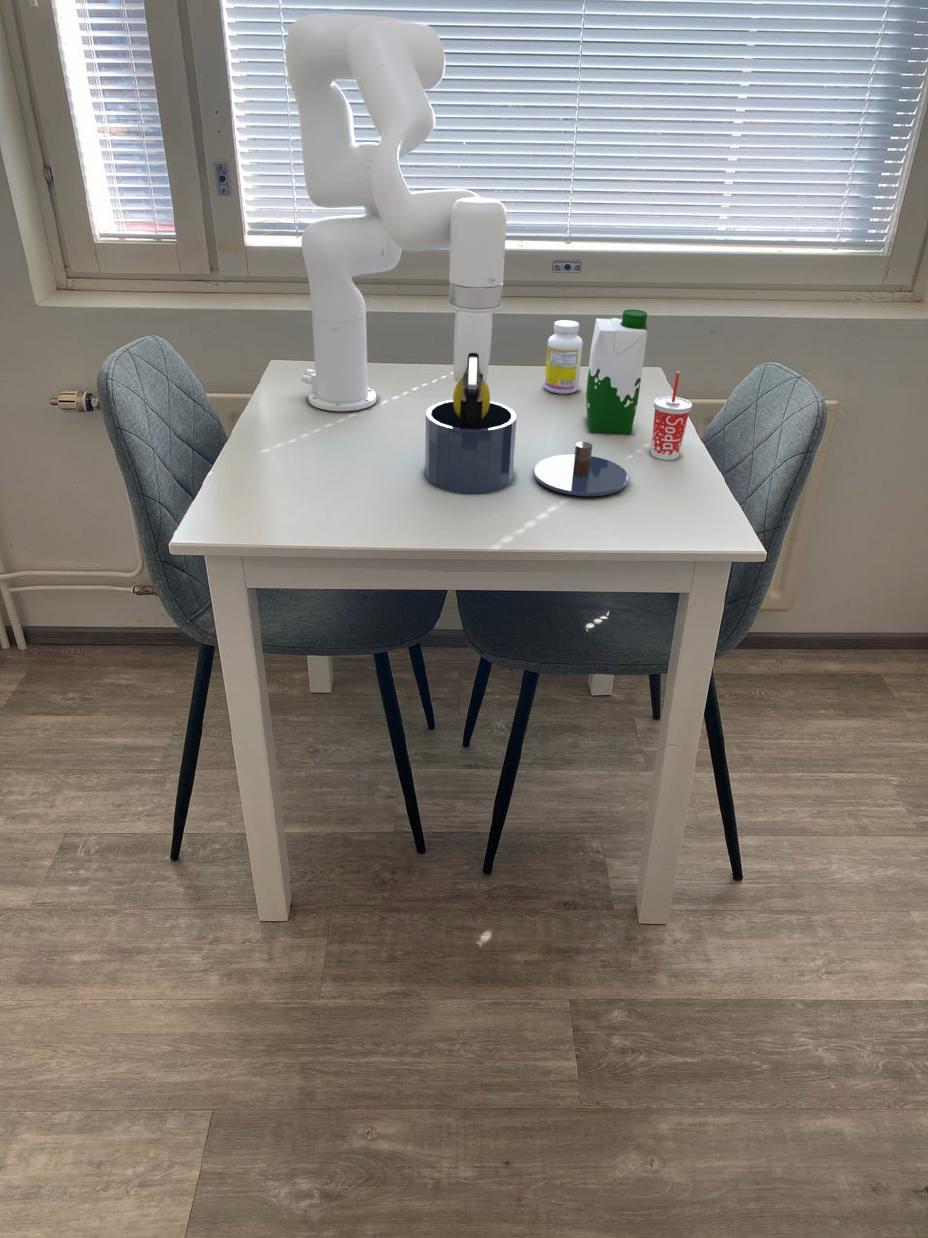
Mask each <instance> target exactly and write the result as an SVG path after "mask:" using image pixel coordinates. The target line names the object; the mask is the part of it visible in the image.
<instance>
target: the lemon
mask: <svg viewBox="0 0 928 1238" xmlns="http://www.w3.org/2000/svg"><path fill="white" fill-rule="evenodd" d="M466 379H467V380H468V376H466ZM477 380H479V376H477ZM467 387H468V384H466V388H467ZM476 388H478V384H477V387H476ZM462 396H463V378H462V380H458V381H457V383H456V385H455V387H454V390H453V396H452V400H453V405H454V409H455V412H456V414H457V415H458V416H459V417H460V406H461V400H462ZM477 397H478V396H477ZM481 401H483V404H482V418H483V417H484V416H485V415H486V413H487V412H488V409H489V405H490V401H491V393H490V388H489V385H488V383H487V382H486V381H484V382H482V389H481Z"/></svg>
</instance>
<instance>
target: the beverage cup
mask: <svg viewBox="0 0 928 1238" xmlns="http://www.w3.org/2000/svg"><path fill="white" fill-rule="evenodd" d="M680 373H681V372H680V371H676V373H675V379H674V384H673V385H674V386H673V392H672V396H669V395H668V396H659V397H656V398H655V399H654V400H653V408H654V414H653V415H654V416H653V425H652V436H651V449H650V455H651V456H652V457H654V458H656V459H659V460H664V461H672V460H673V461H674V460H675V459H678V458H679V457H680V451H681V447H682V444H683V439H684V435H685V431H686V428H687V427H686V426H687V423H688V419H689V415H690V412H691V411H692V407H693V403H692V402H691V401H690V400H688V399H686V398H683V397H678V396H677V391H678V390H677V389H678V385H679V380H680V379H679V378H680Z"/></svg>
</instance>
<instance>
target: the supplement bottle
mask: <svg viewBox="0 0 928 1238" xmlns="http://www.w3.org/2000/svg"><path fill="white" fill-rule="evenodd" d="M553 330H554V334H552V335H551V336H549V338H548V340H547V347H546V348H547V349H546V350H547V351H546V362H545V375H544V388H545V389H546V390H547V391H548V392H551V393H554V394H559V395H568V394H572V393H575V392H577V391H578V389H579V383H580V374H581V364H582V353H583V340H582V337H580V336H579V335H578V332H579V331H580V323H579V322H577V321H575V320H567V319H561V320H556V321H554V324H553Z"/></svg>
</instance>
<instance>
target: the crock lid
mask: <svg viewBox="0 0 928 1238" xmlns="http://www.w3.org/2000/svg"><path fill="white" fill-rule="evenodd" d="M533 474H534V478H535V480H536V481H537V482H538V483H539V484H540V485H542V486H543V487H545V488H547V489H550V490H552V491H554V492H558V493H561V494H565V495H571V496H577V497H599V496H606V495H612V494H615V493H617V492H619V491H621V490H622V489H624V488H625V487H626V485H627V484H628V482H629V475H628V472H627V471H626V470H625V469H624V468H623V467H622V466H620V465H619V464H618V463H615V462H613V461H611V460H608V459H605V458H602V457H598V456H594V455H593V444H592V443H591V442H588V441H578V442H576V443H575V447H574V454H559V455H554V456H550V457H547V458H545V459H542V460H540V461H539V462H538V463H536V465H535V467H534V471H533Z"/></svg>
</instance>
